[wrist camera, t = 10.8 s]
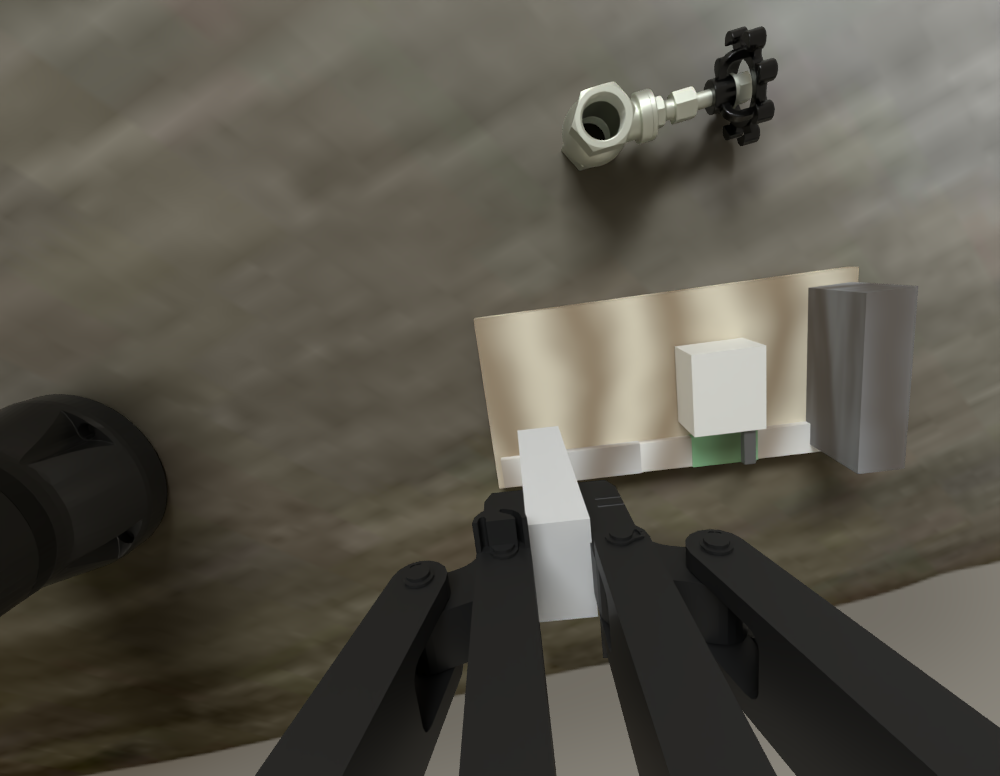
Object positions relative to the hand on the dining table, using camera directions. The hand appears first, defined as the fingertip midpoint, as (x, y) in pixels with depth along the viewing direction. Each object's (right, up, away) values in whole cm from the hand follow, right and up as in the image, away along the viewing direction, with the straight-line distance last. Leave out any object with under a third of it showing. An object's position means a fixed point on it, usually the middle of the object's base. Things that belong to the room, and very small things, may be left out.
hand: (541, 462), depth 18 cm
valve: (+8, +21, +16) cm, 28 cm away
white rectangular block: (+15, +2, +19) cm, 24 cm away
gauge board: (+11, +3, +21) cm, 24 cm away
